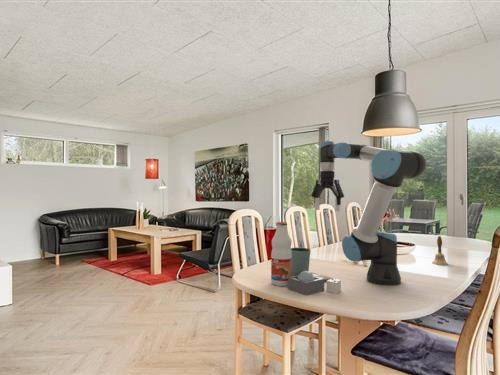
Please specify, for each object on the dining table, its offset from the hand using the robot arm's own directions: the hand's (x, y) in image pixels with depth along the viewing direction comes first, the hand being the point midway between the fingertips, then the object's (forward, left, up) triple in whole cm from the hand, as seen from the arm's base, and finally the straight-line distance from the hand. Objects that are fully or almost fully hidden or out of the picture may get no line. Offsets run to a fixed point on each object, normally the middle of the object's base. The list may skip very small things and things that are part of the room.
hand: (327, 210), depth 184 cm
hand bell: (-29, -65, -32) cm, 78 cm away
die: (-26, +27, -32) cm, 49 cm away
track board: (-3, +20, -32) cm, 38 cm away
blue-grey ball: (-18, +35, -31) cm, 50 cm away
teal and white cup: (0, +20, -31) cm, 37 cm away
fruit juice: (-5, +37, -32) cm, 49 cm away
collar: (-18, +35, -32) cm, 51 cm away
